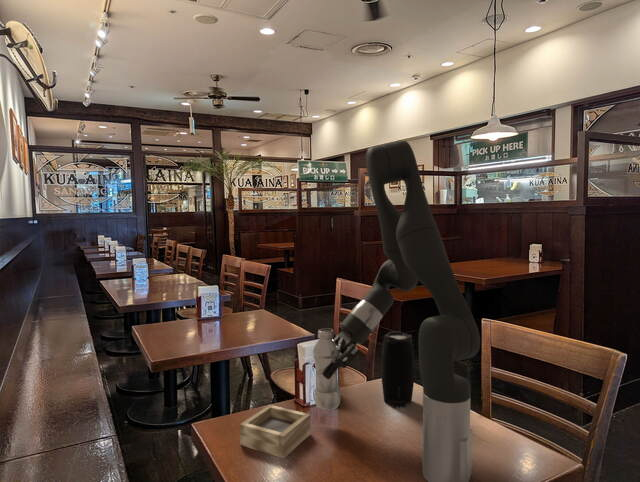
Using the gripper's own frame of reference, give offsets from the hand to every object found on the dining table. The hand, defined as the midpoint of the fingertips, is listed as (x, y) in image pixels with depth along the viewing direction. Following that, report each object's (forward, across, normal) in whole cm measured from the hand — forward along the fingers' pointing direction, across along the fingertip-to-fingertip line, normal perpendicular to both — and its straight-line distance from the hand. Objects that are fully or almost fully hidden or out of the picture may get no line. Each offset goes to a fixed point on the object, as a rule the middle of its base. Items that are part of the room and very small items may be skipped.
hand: (320, 372), depth 110 cm
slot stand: (+19, +2, +1) cm, 19 cm away
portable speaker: (-8, -6, +28) cm, 30 cm away
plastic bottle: (+6, 0, +8) cm, 10 cm away
